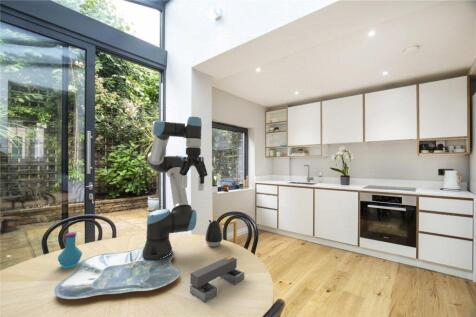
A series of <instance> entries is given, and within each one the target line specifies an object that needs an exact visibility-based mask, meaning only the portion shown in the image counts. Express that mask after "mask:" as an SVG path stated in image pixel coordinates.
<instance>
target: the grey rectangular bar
mask: <svg viewBox="0 0 476 317" xmlns="http://www.w3.org/2000/svg"><path fill="white" fill-rule="evenodd" d="M237 264H238V259H237V258H236V257H234V256H231V255H228V256H227V257H224V258H222V259H219V260H217V261H214V262H213V263H210V264H208V265H206V266H203V267H201V268H198V269H196V270H194V271H192V272H190V273H189V274H190V277H189V279H190V282H189V284H190V285H191V284H192V285H193V286H195V287H196V288H199V287H200V289H201V290H202V291H204V292H205V290H204V288H202V287H201V286H202V285H204V284H206V283H210V282H212V281H214V280H216V279H217V278H220V276H222V275H224V274H226V273H227V272H229V274H231V273H230V271H231V270H233V269H238V268H237V267H238V266H237ZM231 275H232V274H231Z"/></svg>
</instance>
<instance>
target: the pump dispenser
mask: <svg viewBox="0 0 476 317" xmlns="http://www.w3.org/2000/svg"><path fill="white" fill-rule="evenodd" d="M208 222H209V224H208V226H207V229H206V232H205V242H206V244H207V246H209V247H211V248H216V247H218V246H220V245H221V244H222V241H223V233H222V228H221V225H220V222H218V221H217V220H215V219H213V220H211V219H209V220H208Z"/></svg>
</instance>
